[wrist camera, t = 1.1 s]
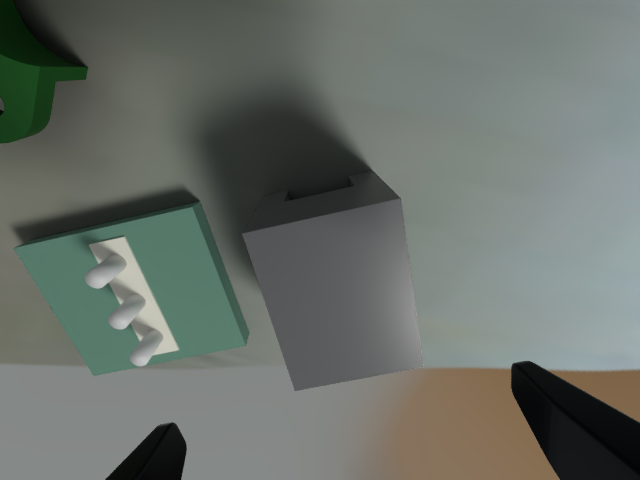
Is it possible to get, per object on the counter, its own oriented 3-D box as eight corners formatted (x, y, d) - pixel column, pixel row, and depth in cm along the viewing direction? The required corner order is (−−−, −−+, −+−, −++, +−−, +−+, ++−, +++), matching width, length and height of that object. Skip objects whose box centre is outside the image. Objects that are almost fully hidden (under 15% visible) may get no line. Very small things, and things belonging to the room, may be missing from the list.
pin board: (199, 201, 18) (176, 219, 15) (249, 333, 21) (238, 369, 18) (31, 240, 18) (-23, 264, 15) (105, 362, 22) (71, 402, 19)
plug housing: (372, 170, 17) (400, 198, 12) (393, 296, 20) (423, 366, 15) (264, 195, 18) (242, 233, 12) (300, 315, 21) (295, 390, 15)
